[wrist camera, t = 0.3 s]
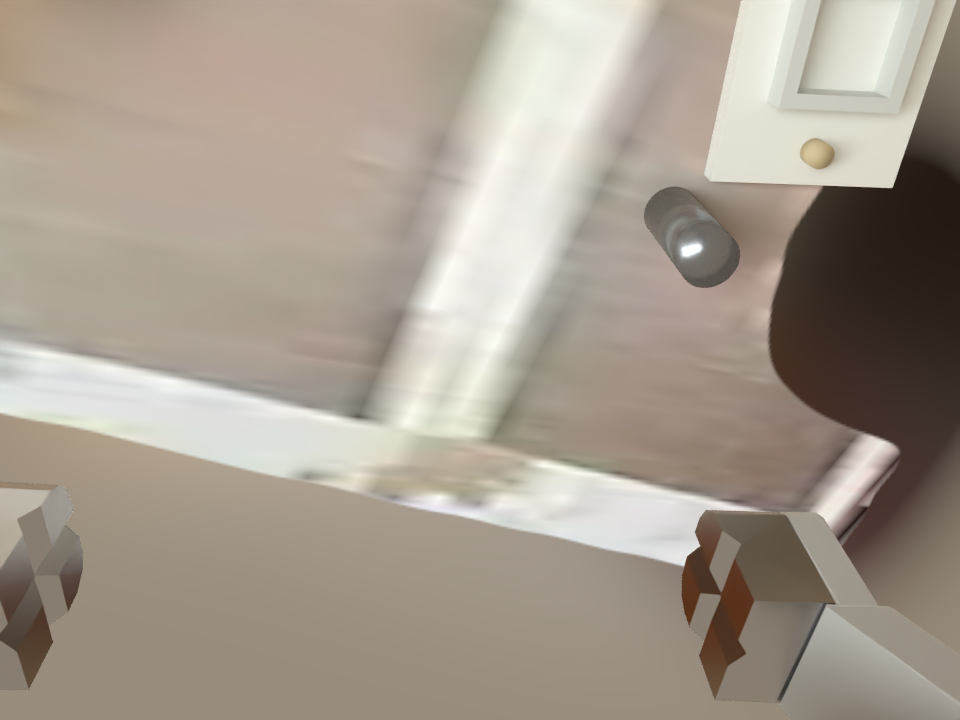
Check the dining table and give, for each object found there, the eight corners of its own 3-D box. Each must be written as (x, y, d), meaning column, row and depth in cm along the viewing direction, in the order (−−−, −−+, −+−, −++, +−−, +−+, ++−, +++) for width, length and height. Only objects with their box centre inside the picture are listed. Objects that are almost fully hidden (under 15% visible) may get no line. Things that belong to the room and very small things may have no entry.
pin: (649, 185, 58) (686, 230, 50) (701, 188, 58) (746, 232, 51) (640, 236, 60) (674, 287, 52) (690, 238, 60) (732, 288, 53)
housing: (772, -146, 48) (797, -149, 45) (984, -129, 49) (1022, -130, 46) (704, 174, 58) (720, 190, 55) (881, 181, 59) (907, 196, 56)
